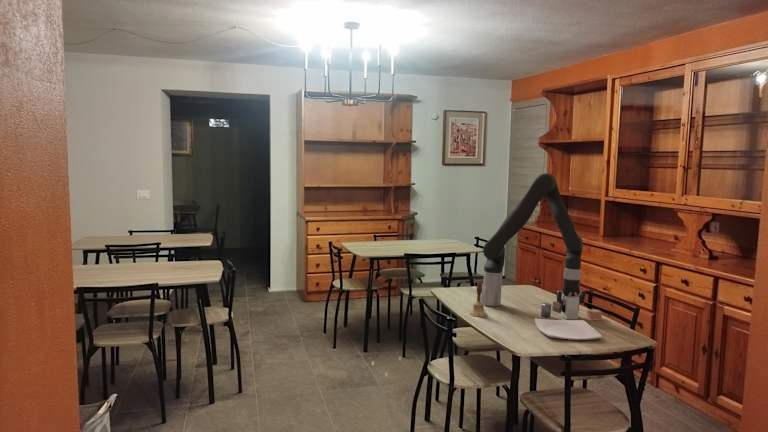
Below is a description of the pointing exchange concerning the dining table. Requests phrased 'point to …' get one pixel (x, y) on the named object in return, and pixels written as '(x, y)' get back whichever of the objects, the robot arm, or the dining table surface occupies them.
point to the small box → (571, 307)
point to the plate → (567, 329)
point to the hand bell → (478, 304)
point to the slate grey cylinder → (546, 310)
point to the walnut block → (557, 307)
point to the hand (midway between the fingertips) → (569, 311)
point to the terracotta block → (594, 314)
